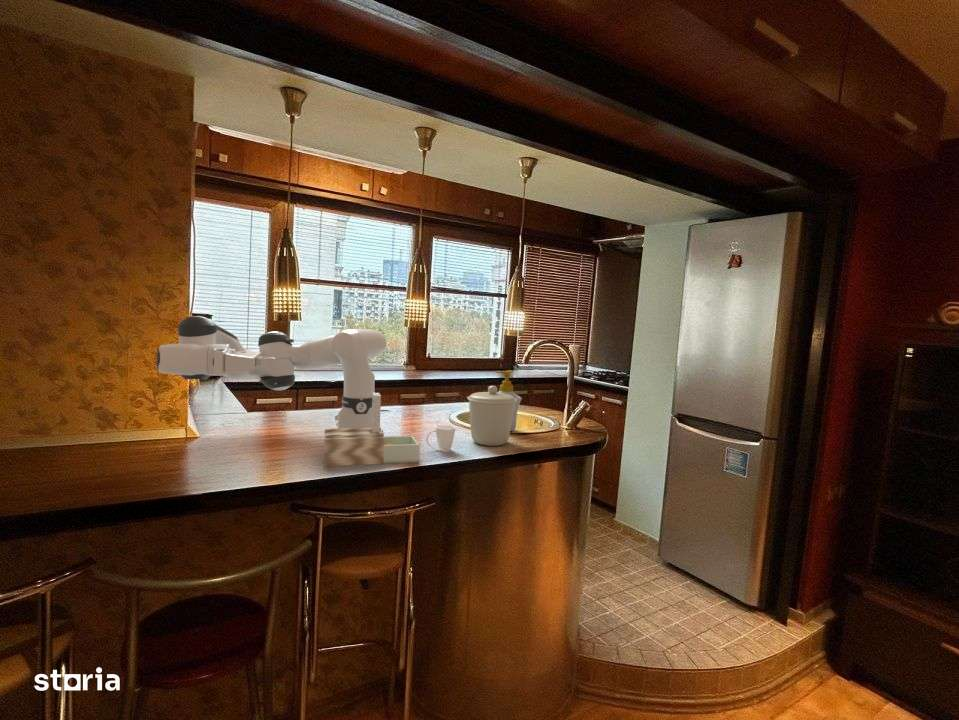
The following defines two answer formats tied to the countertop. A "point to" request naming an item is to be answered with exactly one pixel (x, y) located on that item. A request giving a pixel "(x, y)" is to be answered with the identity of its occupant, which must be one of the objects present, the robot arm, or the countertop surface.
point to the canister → (491, 416)
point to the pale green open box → (401, 449)
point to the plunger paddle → (376, 413)
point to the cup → (443, 437)
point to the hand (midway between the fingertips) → (275, 361)
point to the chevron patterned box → (353, 447)
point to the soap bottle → (508, 389)
